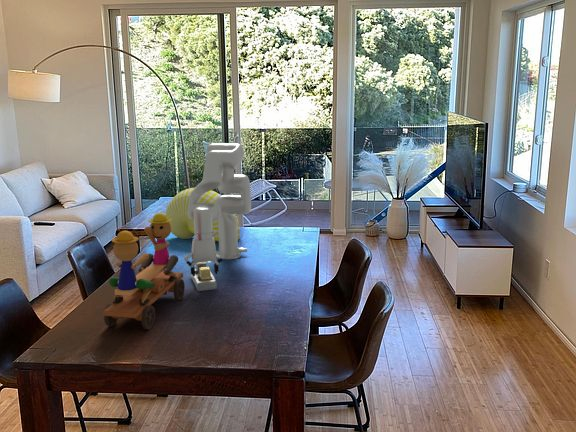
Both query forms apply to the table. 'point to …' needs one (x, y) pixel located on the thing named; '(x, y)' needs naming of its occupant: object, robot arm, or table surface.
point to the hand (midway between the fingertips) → (204, 274)
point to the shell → (181, 220)
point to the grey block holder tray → (204, 282)
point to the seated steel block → (199, 267)
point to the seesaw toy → (143, 275)
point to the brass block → (205, 273)
